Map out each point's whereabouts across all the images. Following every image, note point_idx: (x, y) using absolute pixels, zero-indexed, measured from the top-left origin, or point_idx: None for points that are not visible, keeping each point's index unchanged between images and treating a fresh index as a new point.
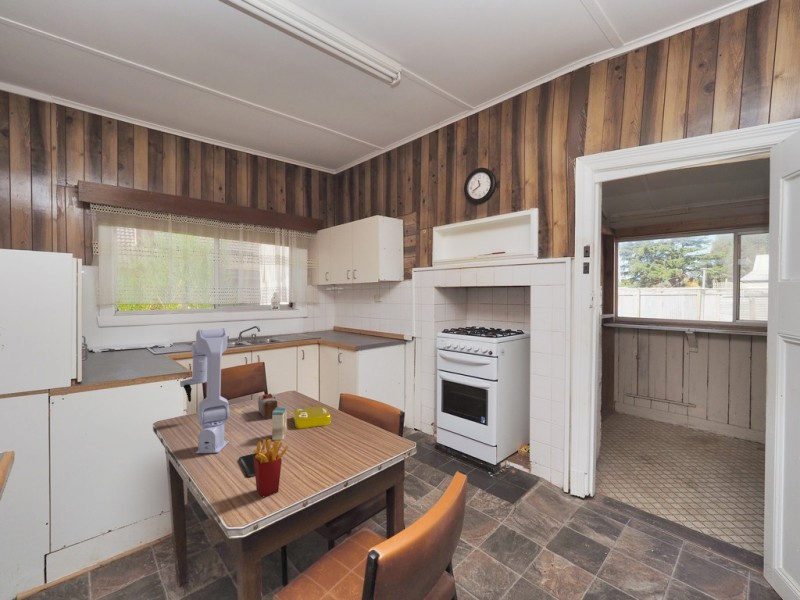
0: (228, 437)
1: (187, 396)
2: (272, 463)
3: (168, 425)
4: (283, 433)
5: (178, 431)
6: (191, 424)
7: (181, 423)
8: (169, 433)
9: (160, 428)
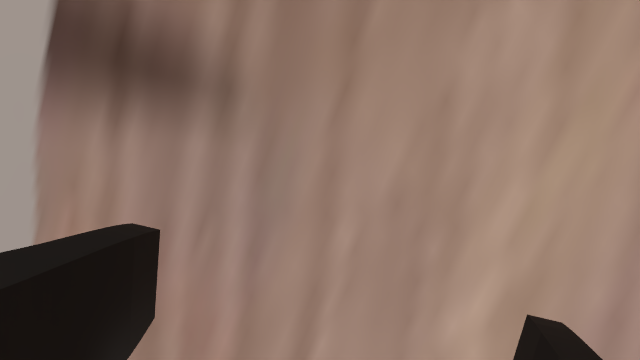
0: None
1: (69, 242)
2: None
3: (125, 13)
4: None
5: None
6: (294, 182)
7: (236, 60)
8: None
9: (47, 45)
